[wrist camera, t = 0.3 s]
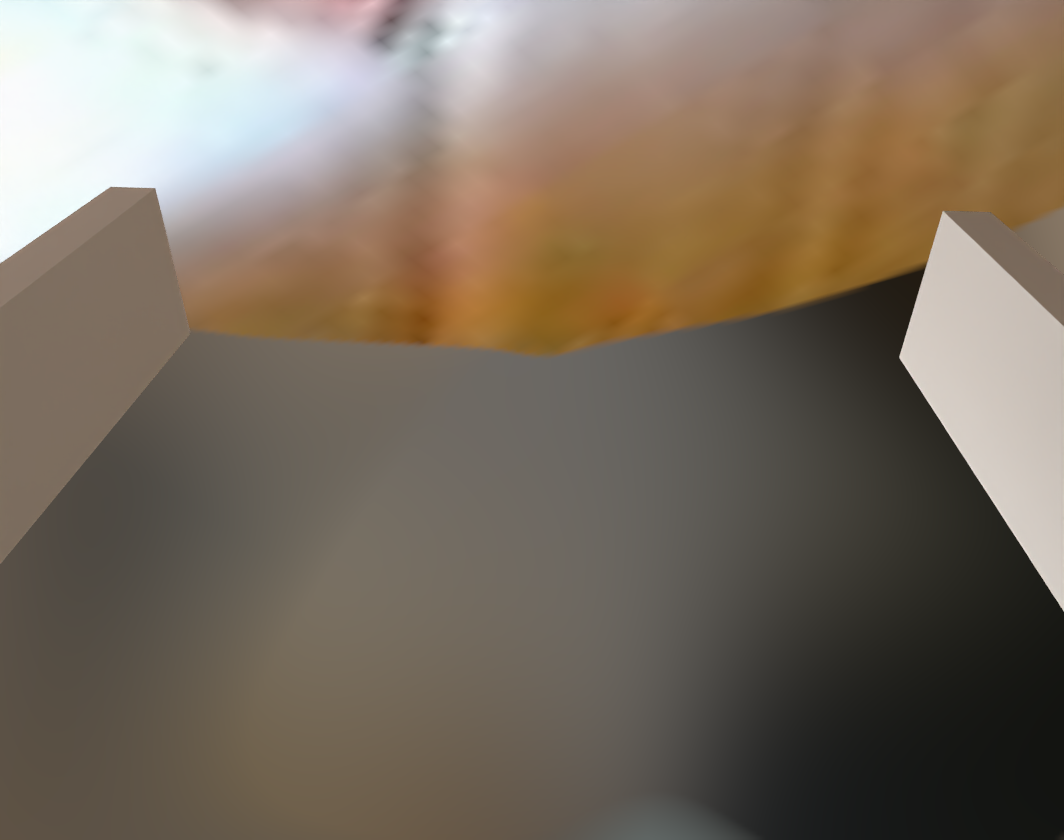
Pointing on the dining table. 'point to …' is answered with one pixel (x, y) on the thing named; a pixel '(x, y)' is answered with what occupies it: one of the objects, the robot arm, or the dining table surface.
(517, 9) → the dining table surface
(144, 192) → the robot arm
